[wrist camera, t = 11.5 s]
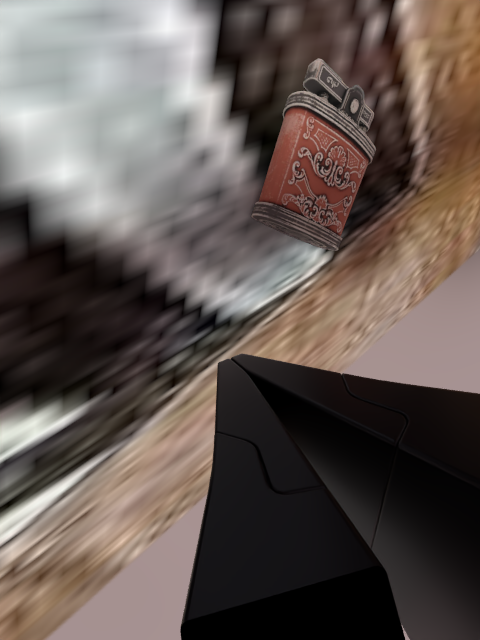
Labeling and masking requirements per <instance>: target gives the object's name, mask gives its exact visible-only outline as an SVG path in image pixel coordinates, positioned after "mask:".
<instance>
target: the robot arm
mask: <svg viewBox="0 0 480 640" xmlns="http://www.w3.org/2000/svg"><path fill="white" fill-rule="evenodd" d="M401 624H402V625H403V628H404V630H405V631H406V633H407V635H408V637H409V639H410V640H480V394H478V393H470V392H463V391H455V390H447V389H440V388H432V387H424V386H417V385H410V384H402V383H395V382H389V381H382V380H376V379H370V378H364V377H359V376H354V375H349V374H344V373H343V374H342V375H341V374H340V373H337V372H332V371H327V370H322V369H317V368H312V367H307V366H302V365H297V364H292V363H287V362H282V361H277V360H272V359H267V358H262V357H257V356H252V355H247V354H239V355H237V356H234V357H232V358H231V359H226V360H224V361H221V362H219V363H218V373H217V396H216V419H215V435H214V451H213V463H212V471H211V477H210V483H209V489H208V494H207V499H206V505H205V510H204V514H203V519H202V524H201V529H200V534H199V539H198V544H197V549H196V554H195V559H194V564H193V569H192V574H191V579H190V584H189V589H188V594H187V599H186V604H185V609H184V614H183V619H182V624H181V639H182V640H405V637H404V633H403V629H402V626H401Z"/></svg>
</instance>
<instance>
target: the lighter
mask: <svg viewBox="0 0 480 640" xmlns="http://www.w3.org/2000/svg"><path fill="white" fill-rule="evenodd" d="M303 86H304V88H305V89H306V90H307V91H309V92H306V91H298V92H295V93H292V94H291V95H290V96H289V97H288V98H287V101H286V104H285V108H284V111H283V118H284V120H283V123H282V127H281V130H280V133H279V136H278V140H277V143H276V146H275V149H274V153H273V156H272V159H271V162H270V166H269V169H268V172H267V175H266V179H265V182H264V185H263V188H262V192H261V195H260V198H259V202H256V203H255V206H254V209H253V213H252V216H251V217H252V218H254V219H255V220H257V221H259V222H261V223H263V224H265V225H267V226H269V227H271V228H274V229H276V230H278V231H280V232H282V233H284V234H287V235H289V236H292V237H294V238H296V239H299V240H301V241H304V242H306V243H309V244H311V245H314V246H317V247H320V248H324V249H328V250H338V248H339V246H340V243H341V240H342V238H341V237H340V236H341V234H342V231H343V228H344V226H345V223H346V220H347V218H348V215H349V212H350V210H351V207H352V205H353V202H354V199H355V197H356V194H357V191H358V189H359V186H360V183H361V181H362V178H363V176H364V173H365V170H366V168H367V165H369V164H370V163H371V162H372V159H373V156H374V154H375V151H376V148H375V146H374V144H373V143H372V142H371V140H370V139H369V138H368V136H367V135H366V134H365V133H366V131H368V130H369V127H370V125H371V122H372V119H373V117H374V113H373V111H372V110H371V109H370V108H369V107H368V106H367V105H366V104H365V102H364V92H363V89H362V88H361V87H360V86H359V85H355V86H353V87H351V88H348V87H347V86H346V85H345V84H344V83H343V82H342V79H341V78H340V77H339V76H338V75H337V74H336V73H335V72H334V71H333V70H332V69H331V68H330V67H329V66H328V65H327V64H326V63H325V62H324V61H323V60H322V59H317V60H315V61H314V62H312V63H311V64H310V65H309V66H308V69H307V73H306V76H305V79H304V82H303Z"/></svg>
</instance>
